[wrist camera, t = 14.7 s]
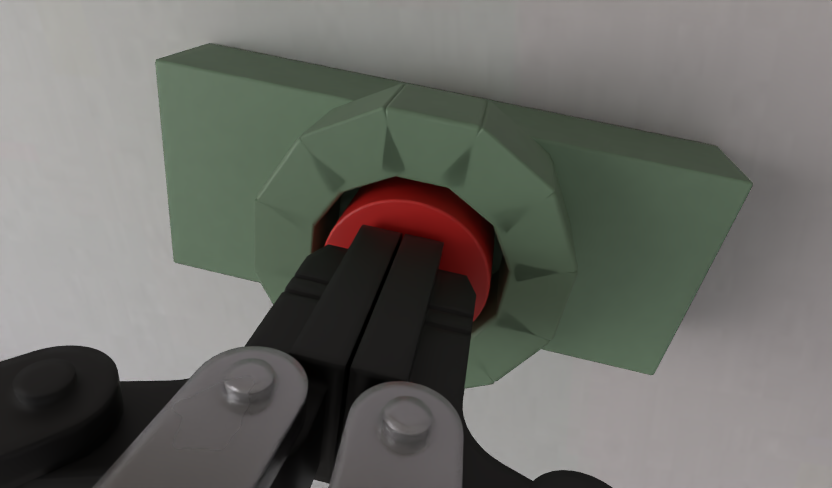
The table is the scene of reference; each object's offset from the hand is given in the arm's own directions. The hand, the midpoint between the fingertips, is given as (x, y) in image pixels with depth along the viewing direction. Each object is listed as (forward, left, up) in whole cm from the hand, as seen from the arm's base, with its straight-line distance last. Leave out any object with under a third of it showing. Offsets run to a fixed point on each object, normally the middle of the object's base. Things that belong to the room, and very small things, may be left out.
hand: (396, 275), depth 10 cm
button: (0, 0, -2) cm, 2 cm away
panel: (0, 0, -4) cm, 4 cm away
